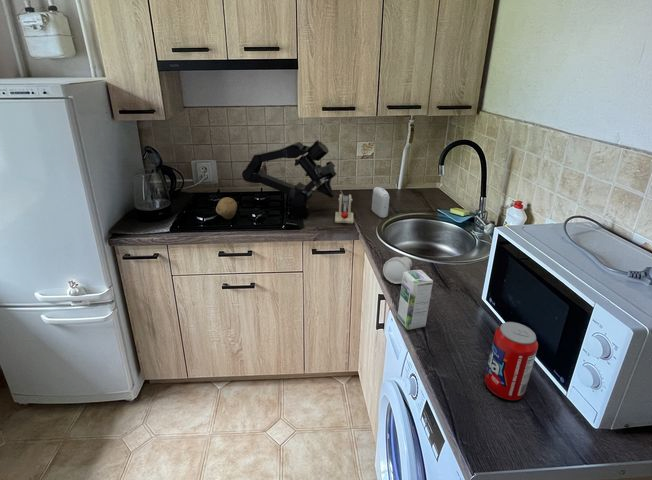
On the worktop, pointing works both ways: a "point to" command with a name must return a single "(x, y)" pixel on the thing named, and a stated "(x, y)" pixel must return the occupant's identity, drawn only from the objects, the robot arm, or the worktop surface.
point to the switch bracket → (338, 214)
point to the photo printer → (380, 202)
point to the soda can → (511, 360)
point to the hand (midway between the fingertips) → (333, 197)
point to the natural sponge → (226, 207)
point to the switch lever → (344, 213)
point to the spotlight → (396, 269)
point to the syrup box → (414, 299)
